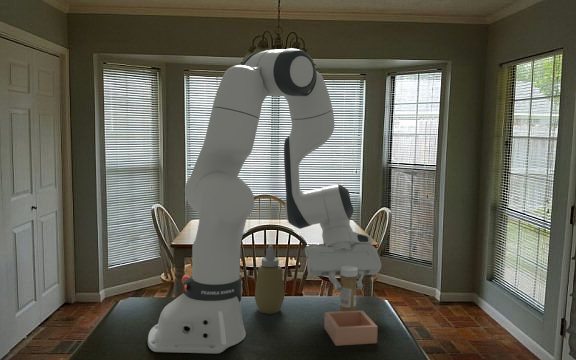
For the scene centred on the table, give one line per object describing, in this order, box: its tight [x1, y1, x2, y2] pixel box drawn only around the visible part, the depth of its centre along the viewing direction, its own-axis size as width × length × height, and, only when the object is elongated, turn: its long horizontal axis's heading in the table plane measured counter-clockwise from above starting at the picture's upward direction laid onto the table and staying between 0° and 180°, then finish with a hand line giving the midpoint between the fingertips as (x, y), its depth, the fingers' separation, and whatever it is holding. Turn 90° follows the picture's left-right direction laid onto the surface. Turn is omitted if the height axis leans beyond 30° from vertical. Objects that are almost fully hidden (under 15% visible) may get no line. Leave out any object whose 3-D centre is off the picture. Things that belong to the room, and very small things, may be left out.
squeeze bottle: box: [254, 244, 285, 315], centre depth 126 cm, size 8×8×18 cm
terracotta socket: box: [323, 309, 378, 347], centre depth 113 cm, size 10×10×4 cm
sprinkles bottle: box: [339, 266, 358, 312], centre depth 124 cm, size 5×5×13 cm
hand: (349, 288), depth 123 cm, fingers closed on sprinkles bottle, 4 cm apart
